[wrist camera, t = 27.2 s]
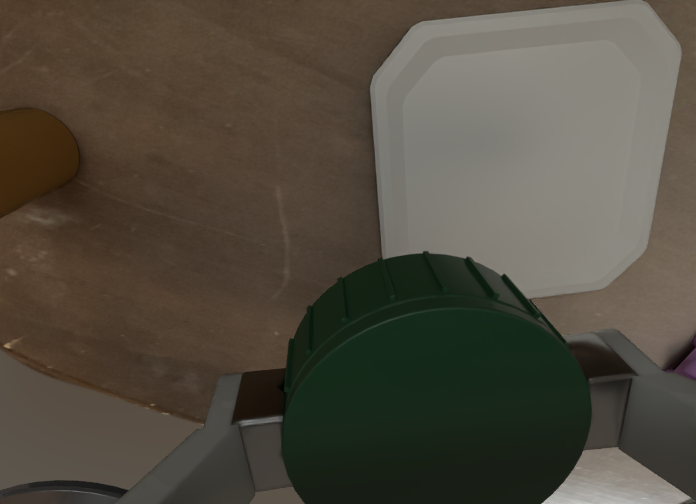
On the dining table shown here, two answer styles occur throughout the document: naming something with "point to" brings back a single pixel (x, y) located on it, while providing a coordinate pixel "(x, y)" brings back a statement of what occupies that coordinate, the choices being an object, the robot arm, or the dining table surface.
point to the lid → (430, 390)
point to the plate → (526, 141)
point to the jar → (33, 157)
